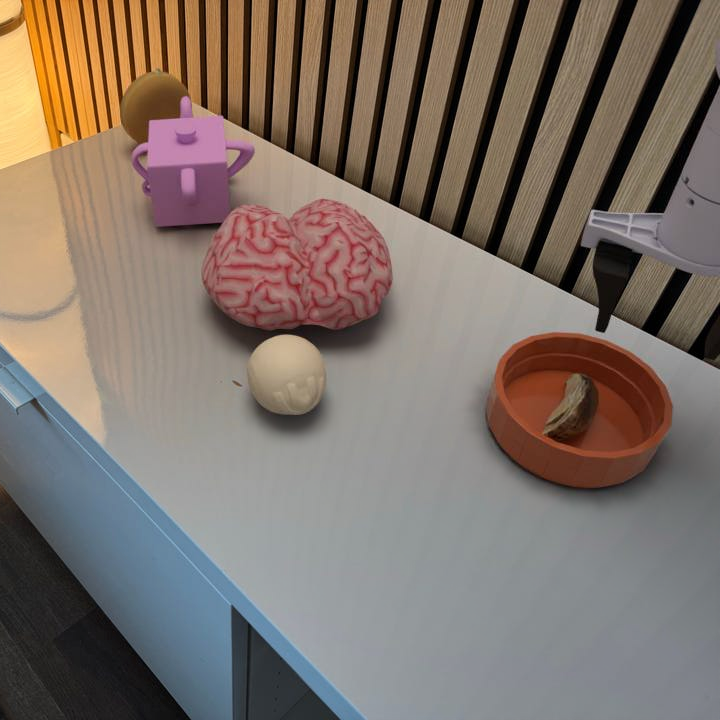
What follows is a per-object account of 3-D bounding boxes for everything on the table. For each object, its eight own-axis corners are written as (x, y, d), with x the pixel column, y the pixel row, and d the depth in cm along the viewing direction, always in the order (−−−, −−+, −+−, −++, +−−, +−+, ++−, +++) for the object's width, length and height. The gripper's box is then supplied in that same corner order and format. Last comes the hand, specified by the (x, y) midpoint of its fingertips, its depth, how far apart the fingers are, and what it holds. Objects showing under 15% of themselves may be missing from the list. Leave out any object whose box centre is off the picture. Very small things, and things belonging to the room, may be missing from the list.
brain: (364, 232, 85) (372, 152, 78) (407, 344, 72) (421, 262, 65) (197, 249, 84) (189, 170, 77) (211, 365, 71) (204, 284, 64)
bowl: (658, 393, 67) (678, 358, 64) (644, 514, 58) (666, 481, 55) (502, 351, 71) (513, 316, 68) (468, 458, 63) (479, 424, 60)
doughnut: (185, 127, 103) (177, 55, 95) (198, 139, 100) (192, 65, 93) (122, 149, 99) (110, 75, 92) (135, 161, 97) (124, 87, 90)
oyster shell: (549, 434, 69) (550, 470, 60) (524, 401, 69) (522, 432, 60) (610, 399, 66) (620, 432, 57) (584, 365, 67) (591, 392, 57)
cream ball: (269, 443, 65) (268, 391, 60) (237, 385, 69) (234, 333, 65) (340, 419, 66) (344, 366, 61) (304, 364, 71) (306, 311, 66)
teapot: (141, 164, 96) (130, 89, 89) (250, 158, 97) (247, 82, 89) (136, 251, 84) (123, 172, 77) (261, 243, 84) (259, 163, 77)
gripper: (857, 173, 48) (760, 328, 58) (615, 132, 53) (563, 282, 63) (868, 235, 44) (761, 391, 54) (603, 185, 48) (549, 337, 58)
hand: (654, 337), depth 58 cm, fingers open, 7 cm apart
